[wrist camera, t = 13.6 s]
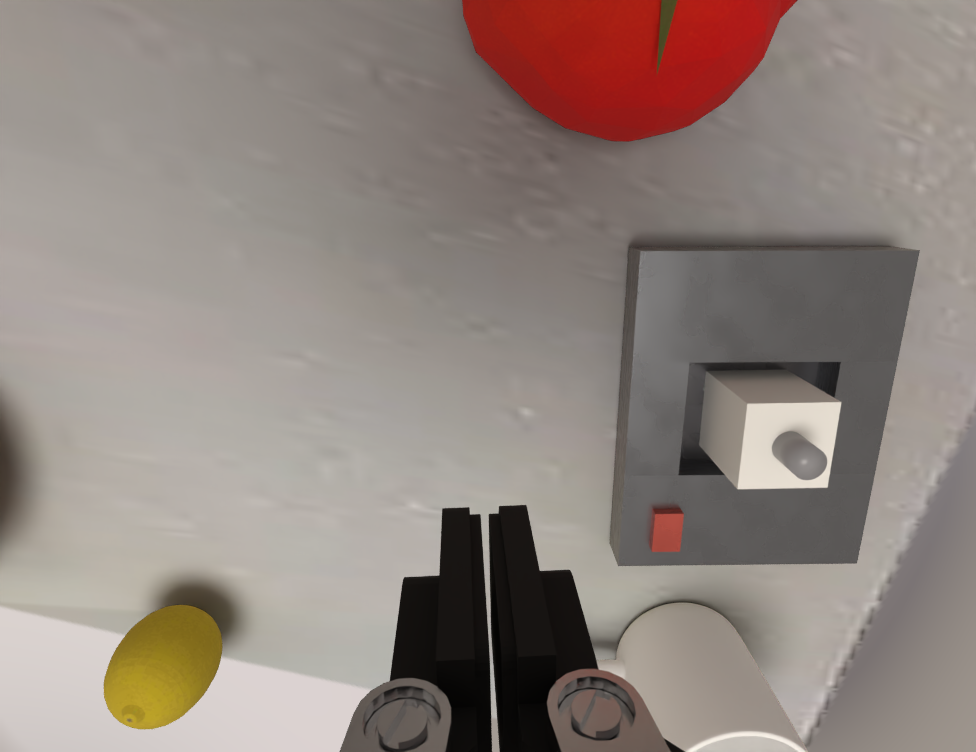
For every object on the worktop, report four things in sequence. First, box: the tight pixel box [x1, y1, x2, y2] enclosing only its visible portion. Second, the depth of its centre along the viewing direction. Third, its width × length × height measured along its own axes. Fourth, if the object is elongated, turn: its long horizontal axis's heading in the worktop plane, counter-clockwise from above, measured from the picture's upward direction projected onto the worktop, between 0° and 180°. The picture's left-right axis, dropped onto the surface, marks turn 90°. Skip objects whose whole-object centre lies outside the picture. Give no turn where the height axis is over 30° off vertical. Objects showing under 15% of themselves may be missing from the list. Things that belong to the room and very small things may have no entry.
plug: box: [699, 370, 841, 489], centre depth 32 cm, size 4×4×8 cm
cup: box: [596, 602, 808, 752], centre depth 36 cm, size 8×12×10 cm
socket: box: [610, 246, 920, 566], centre depth 34 cm, size 18×14×3 cm
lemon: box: [104, 605, 222, 729], centre depth 35 cm, size 6×6×8 cm
